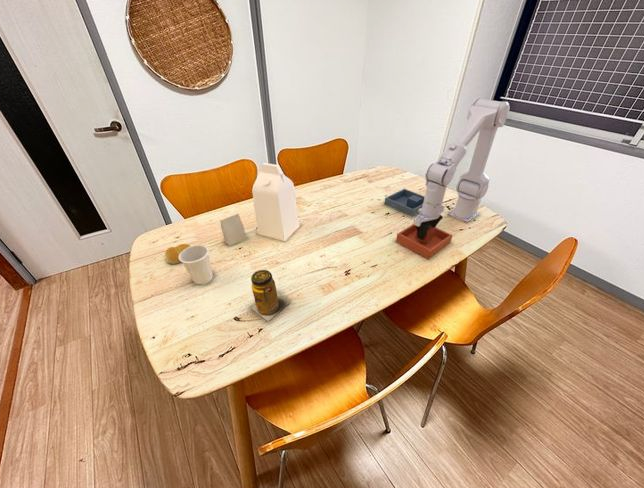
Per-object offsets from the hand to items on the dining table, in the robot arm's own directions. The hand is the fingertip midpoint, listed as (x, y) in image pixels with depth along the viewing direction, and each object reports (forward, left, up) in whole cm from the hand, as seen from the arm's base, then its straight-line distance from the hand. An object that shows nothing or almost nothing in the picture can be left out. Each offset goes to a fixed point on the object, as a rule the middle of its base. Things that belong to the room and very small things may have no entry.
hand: (424, 235), depth 98 cm
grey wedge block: (+50, -47, -3) cm, 69 cm away
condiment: (+57, -11, -3) cm, 58 cm away
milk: (+34, -42, -3) cm, 54 cm away
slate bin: (-18, -20, -3) cm, 27 cm away
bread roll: (+69, -51, -3) cm, 86 cm away
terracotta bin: (0, 0, -3) cm, 3 cm away
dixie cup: (+67, -35, -3) cm, 76 cm away
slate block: (-18, -17, -2) cm, 25 cm away
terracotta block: (0, 0, -1) cm, 1 cm away
